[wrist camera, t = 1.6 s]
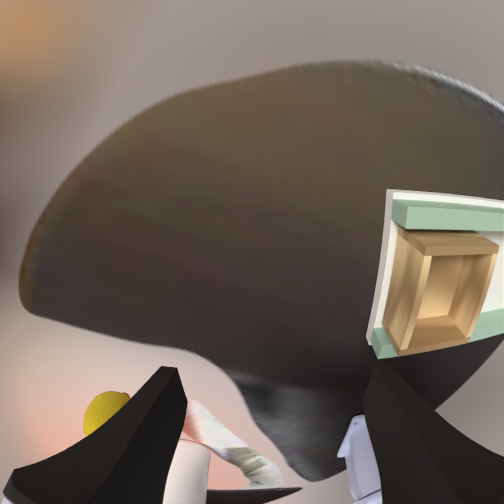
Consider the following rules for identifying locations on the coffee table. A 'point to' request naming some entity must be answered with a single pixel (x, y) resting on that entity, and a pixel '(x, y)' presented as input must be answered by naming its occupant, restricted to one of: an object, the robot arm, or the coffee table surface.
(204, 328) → the coffee table surface
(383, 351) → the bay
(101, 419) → the lemon
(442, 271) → the crate
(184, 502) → the drinking glass
